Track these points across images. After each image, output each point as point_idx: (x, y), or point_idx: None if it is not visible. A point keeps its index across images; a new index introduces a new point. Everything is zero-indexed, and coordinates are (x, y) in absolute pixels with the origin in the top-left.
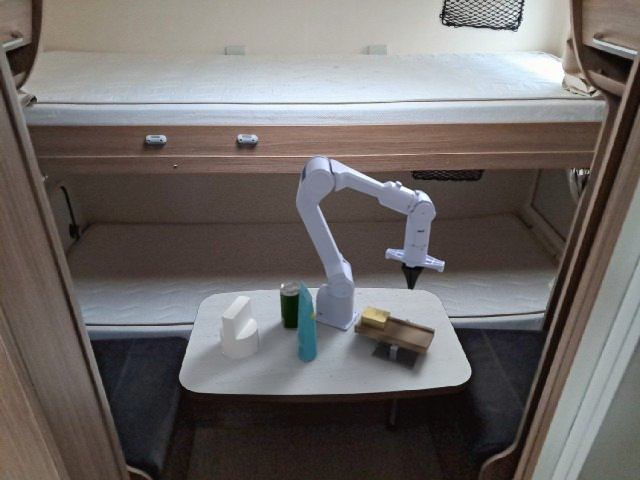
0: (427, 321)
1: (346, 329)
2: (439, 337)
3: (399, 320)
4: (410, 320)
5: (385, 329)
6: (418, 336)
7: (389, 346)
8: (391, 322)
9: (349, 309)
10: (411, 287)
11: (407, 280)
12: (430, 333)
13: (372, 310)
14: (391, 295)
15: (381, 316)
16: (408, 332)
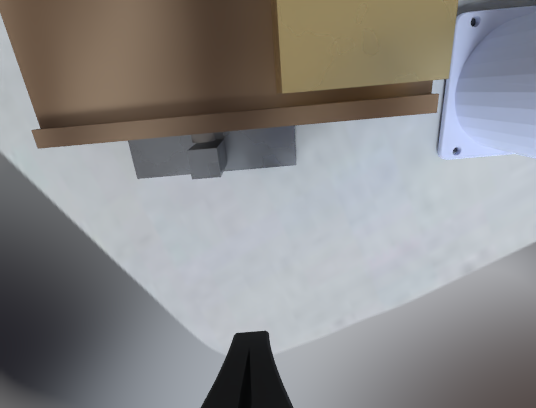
0: (185, 252)
1: (460, 14)
2: (105, 194)
3: (231, 119)
4: (201, 177)
5: (270, 12)
6: (86, 55)
7: None
8: (267, 94)
9: (527, 57)
10: (240, 345)
11: (271, 385)
12: (52, 117)
13: (403, 44)
14: (355, 313)
15: (320, 9)
16: (149, 60)
